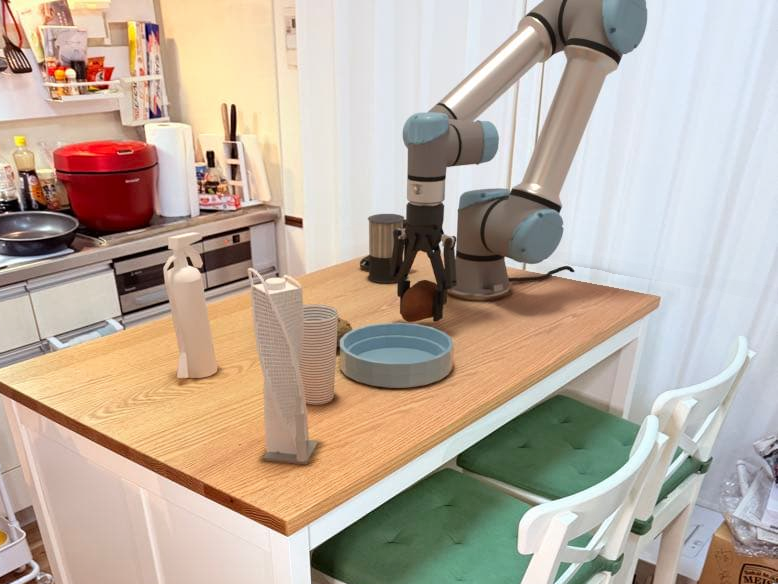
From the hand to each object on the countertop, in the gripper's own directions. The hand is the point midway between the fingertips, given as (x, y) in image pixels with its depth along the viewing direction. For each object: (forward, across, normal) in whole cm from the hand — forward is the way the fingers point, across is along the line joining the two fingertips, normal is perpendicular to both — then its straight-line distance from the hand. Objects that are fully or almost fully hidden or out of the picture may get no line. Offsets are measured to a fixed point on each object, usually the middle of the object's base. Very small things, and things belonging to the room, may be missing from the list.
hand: (421, 315), depth 165 cm
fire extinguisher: (+3, -23, -45) cm, 51 cm away
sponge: (+3, -15, -21) cm, 26 cm away
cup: (+3, +3, -41) cm, 41 cm away
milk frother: (+3, -30, +29) cm, 42 cm away
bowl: (+3, +7, -21) cm, 22 cm away
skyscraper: (+3, +11, -59) cm, 60 cm away
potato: (+1, 0, 0) cm, 1 cm away
